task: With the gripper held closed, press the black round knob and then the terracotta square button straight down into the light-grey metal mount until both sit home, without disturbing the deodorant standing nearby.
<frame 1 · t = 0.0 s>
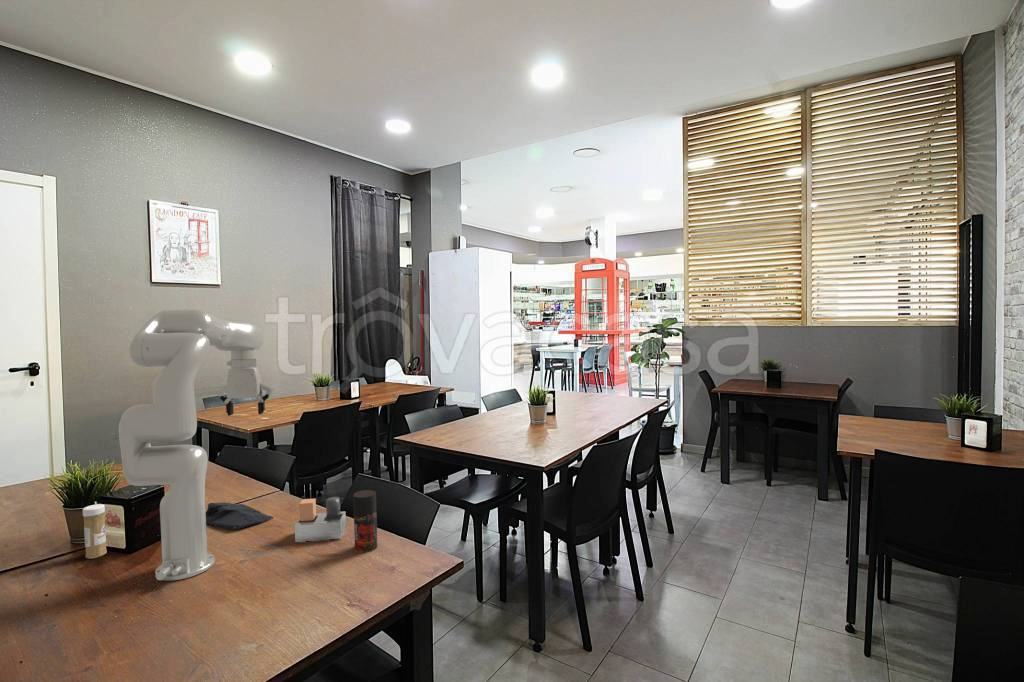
hand: (245, 414, 169), 31 cm above the table, tool pointing down, fingers open, 9 cm apart
button square: (307, 509, 144), point 8 cm above the table, slide at 0.0 cm
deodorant: (366, 548, 136), on the table
dark slate chunk: (235, 521, 157), on the table
sprinkles bottle: (96, 556, 134), on the table
knob round: (333, 507, 145), point 8 cm above the table, slide at 0.0 cm
mount: (321, 534, 144), on the table
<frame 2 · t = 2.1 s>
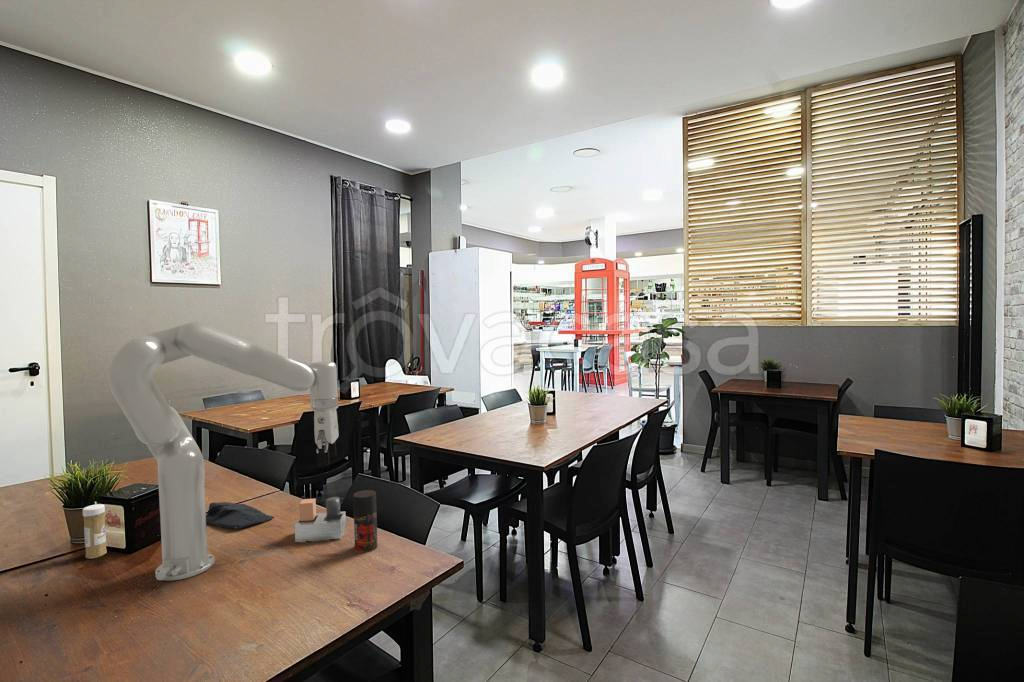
hand: (327, 461, 146), 21 cm above the table, tool pointing down, fingers open, 9 cm apart
nothing on the table moved.
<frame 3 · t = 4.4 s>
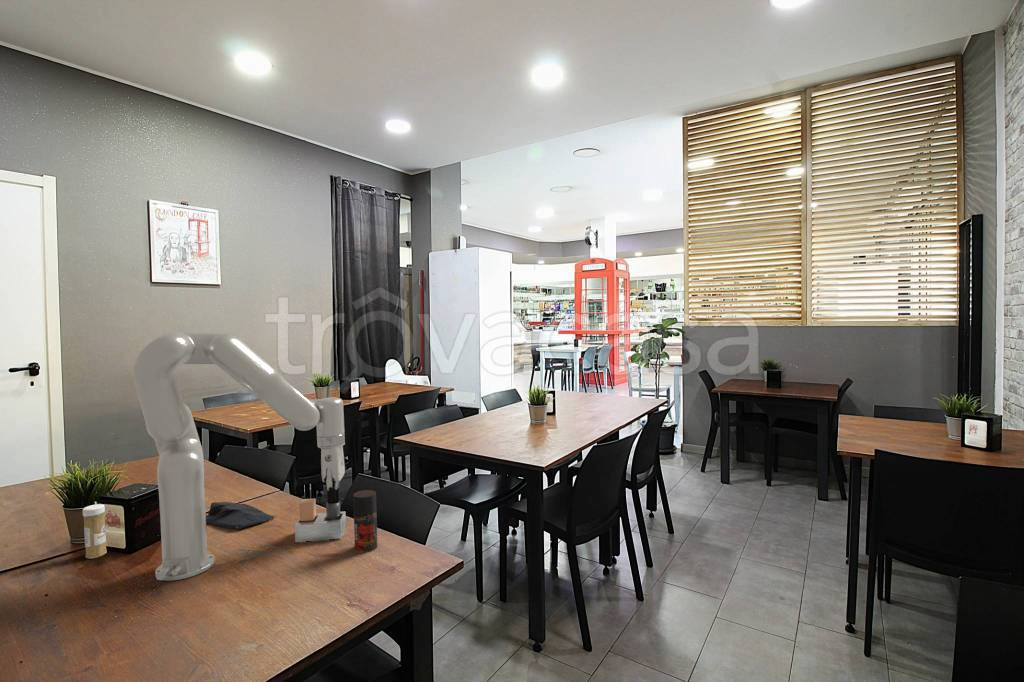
hand: (333, 502, 145), 9 cm above the table, tool pointing down, fingers closed
knob round: (333, 511, 145), point 7 cm above the table, slide at 1.0 cm, touching gripper
everything else where it was.
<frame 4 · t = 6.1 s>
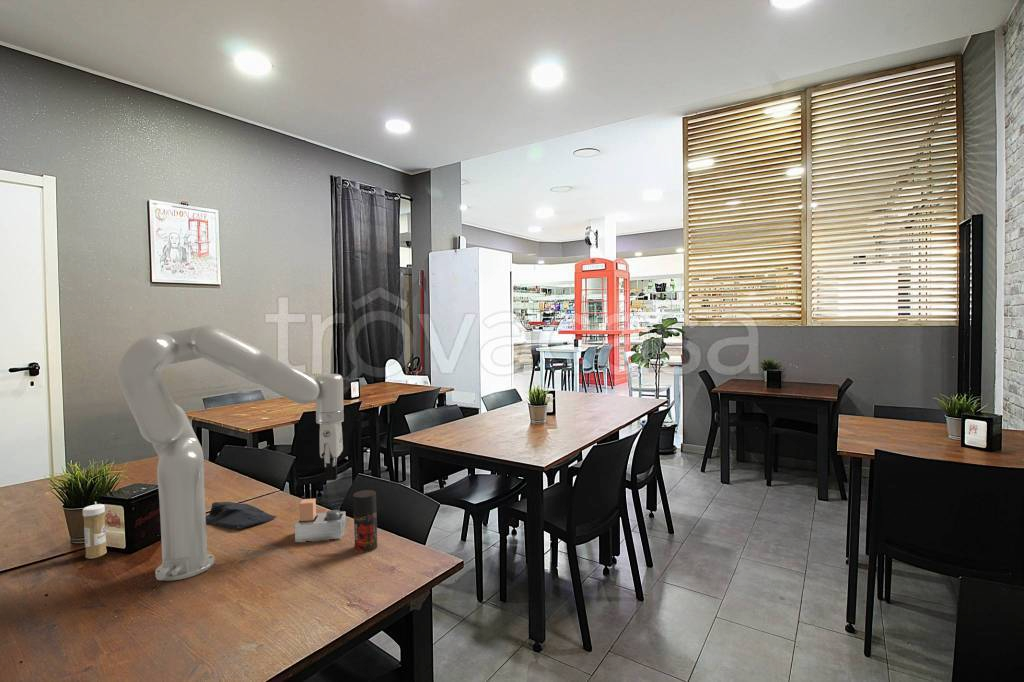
hand: (331, 479, 144), 16 cm above the table, tool pointing down, fingers closed
knob round: (333, 520, 145), point 4 cm above the table, slide at 3.9 cm
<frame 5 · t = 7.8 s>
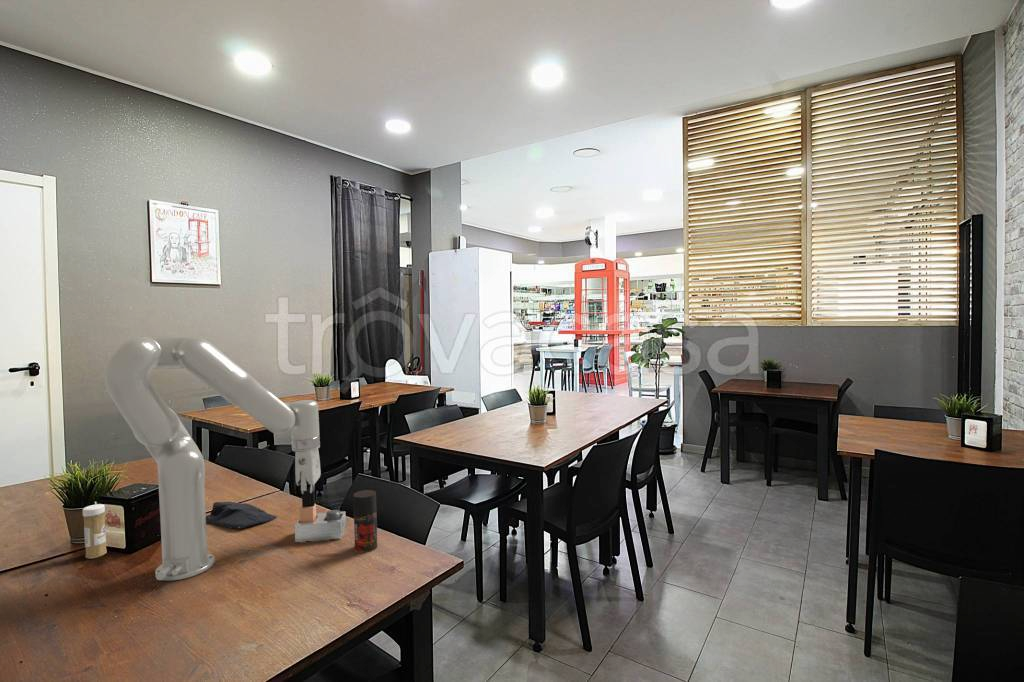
hand: (308, 505, 144), 9 cm above the table, tool pointing down, fingers closed
button square: (308, 514, 144), point 6 cm above the table, slide at 1.4 cm, touching gripper
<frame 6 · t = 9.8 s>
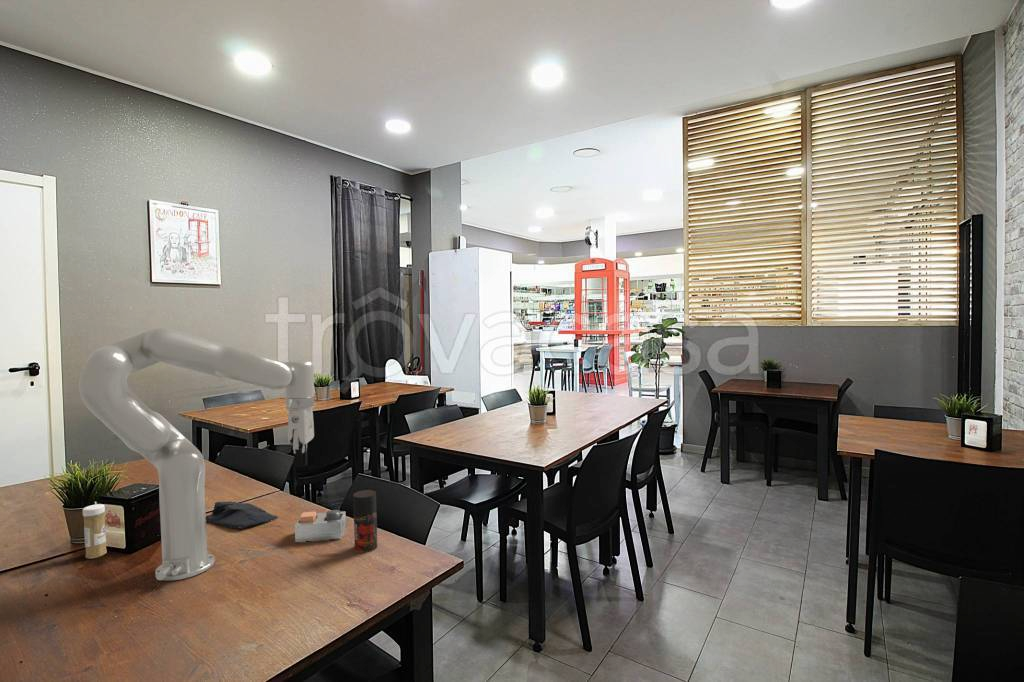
hand: (300, 465, 144), 20 cm above the table, tool pointing down, fingers closed
button square: (308, 522, 144), point 4 cm above the table, slide at 3.9 cm
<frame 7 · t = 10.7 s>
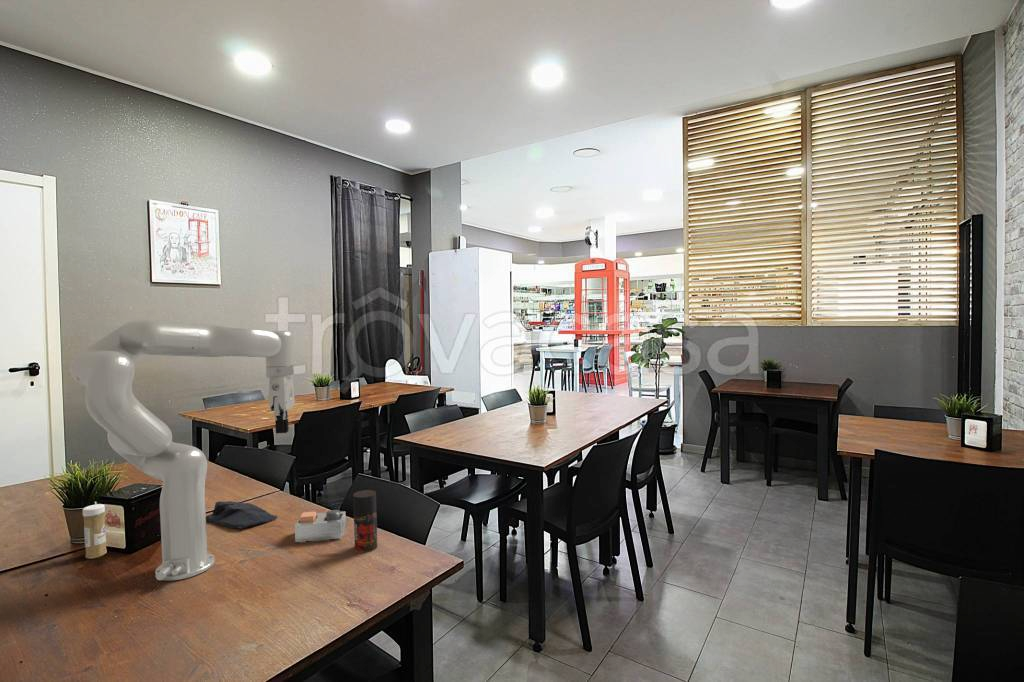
hand: (282, 432, 149), 29 cm above the table, tool pointing down, fingers closed
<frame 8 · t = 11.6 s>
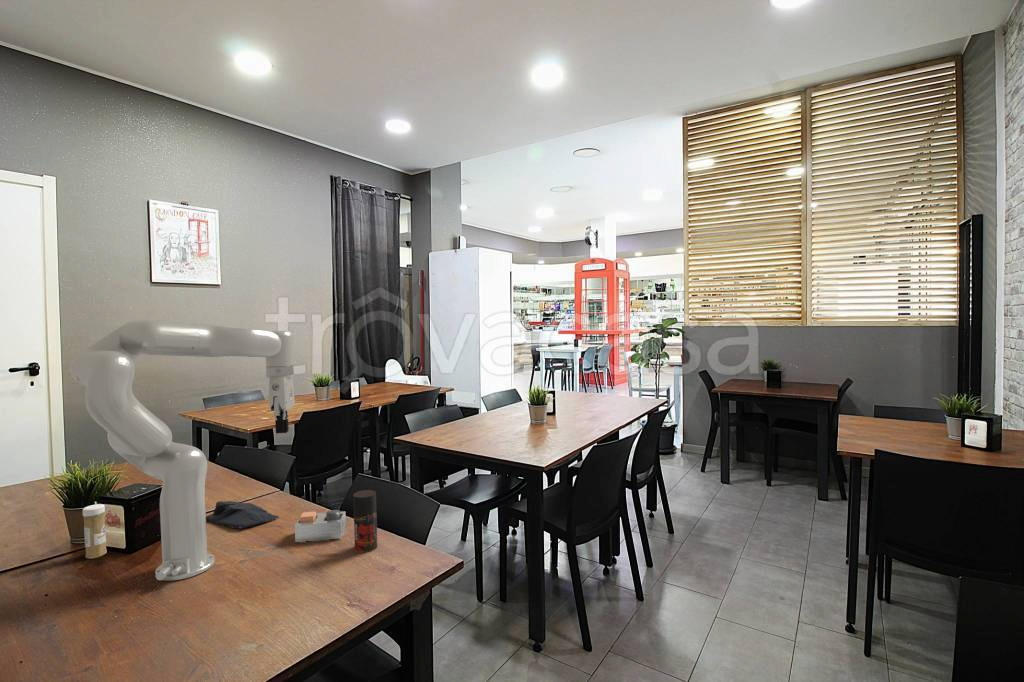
hand: (282, 432, 149), 29 cm above the table, tool pointing down, fingers closed
at the end: knob round slide at 3.9 cm; button square slide at 3.9 cm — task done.
